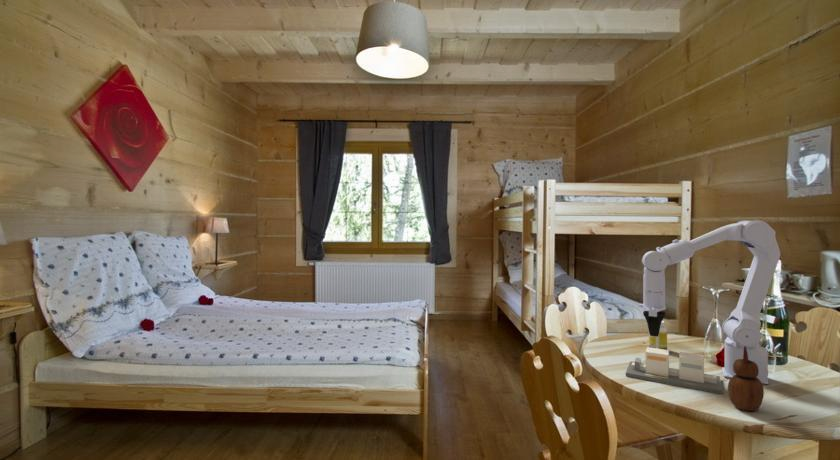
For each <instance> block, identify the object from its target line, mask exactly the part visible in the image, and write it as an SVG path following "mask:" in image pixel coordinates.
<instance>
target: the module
mask: <svg viewBox="0 0 840 460" xmlns="http://www.w3.org/2000/svg"><path fill="white" fill-rule="evenodd" d="M645 364H646V373H650V374H656V375H661V376H667V377H668V370H669V368H670V350H669V349H667V350H664V349H657V348H650V347H649V346H647V347H646V349H645Z"/></svg>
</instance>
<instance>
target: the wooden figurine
mask: <svg viewBox="0 0 840 460" xmlns="http://www.w3.org/2000/svg"><path fill="white" fill-rule="evenodd" d="M733 371H734V373H735V374H736V375H734V376H733V377H732V378H729V381H728V384H727V393H728V398H729V399H730V402H731V403H732V405H733V406H734V407H736V408H738V409H739V410H741V411H746V412H755V411H757V410H759V409H760V407H761V405H762V403H763V400H764V396H765V394H764V393H765V391H764V387H763V386H764V384H763V383H761V381H760V380H759V379H758V378H756V377H757V376H758V374H759V369H758V365H757V364H756V363H755V362H753V361H750V360H748V353H747V350H746V347H745V346H744V354H743V359H737V360H736V361H735V362H734V364H733Z"/></svg>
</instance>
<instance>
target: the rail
mask: <svg viewBox="0 0 840 460" xmlns="http://www.w3.org/2000/svg"><path fill="white" fill-rule="evenodd" d="M641 358H642V357H641ZM641 358H639V357H635V360H634V361H631V360H630V362H629V364H628V366H627V369H626V371H625V377H629V378H632V379H634V378H635V379H639V380H644V381H649V382H650V381H651V382H656V383H661V384H667V385H672V386H678V387H683V388H687V389H692V390H693V389H694V390H697V391H705V392H709V393H710V392H711V393H714V394H715V393H716V394H720V395H723V386H722V381H721V376H720V375H714V374H709V373H705V356H704V354H698V353H693V352H692V353H690V352H682V351H679V355H678V358H679V359H678V362H679V364H678V365H679V368H673V367H672V368H671V367H669V370H668V377H667V376H661V375H656V374H650V373H646V363H642V359H641Z"/></svg>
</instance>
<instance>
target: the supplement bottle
mask: <svg viewBox="0 0 840 460" xmlns="http://www.w3.org/2000/svg"><path fill="white" fill-rule="evenodd" d="M665 323H666V322H665V321H664V320H662V322H661V325H660V331H659V335H658V337H657V336H650V333H649V332H648V347H650V348H657V349H664V350H668V329H667V328H666V327H665Z"/></svg>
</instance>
